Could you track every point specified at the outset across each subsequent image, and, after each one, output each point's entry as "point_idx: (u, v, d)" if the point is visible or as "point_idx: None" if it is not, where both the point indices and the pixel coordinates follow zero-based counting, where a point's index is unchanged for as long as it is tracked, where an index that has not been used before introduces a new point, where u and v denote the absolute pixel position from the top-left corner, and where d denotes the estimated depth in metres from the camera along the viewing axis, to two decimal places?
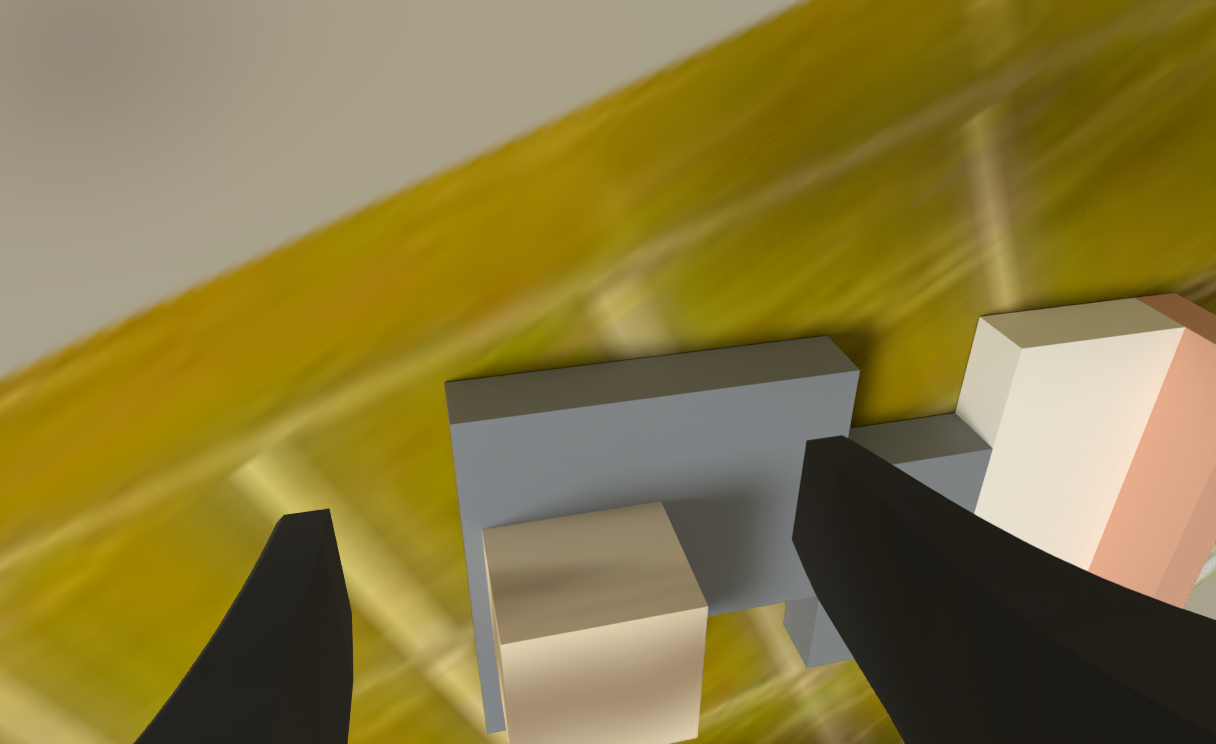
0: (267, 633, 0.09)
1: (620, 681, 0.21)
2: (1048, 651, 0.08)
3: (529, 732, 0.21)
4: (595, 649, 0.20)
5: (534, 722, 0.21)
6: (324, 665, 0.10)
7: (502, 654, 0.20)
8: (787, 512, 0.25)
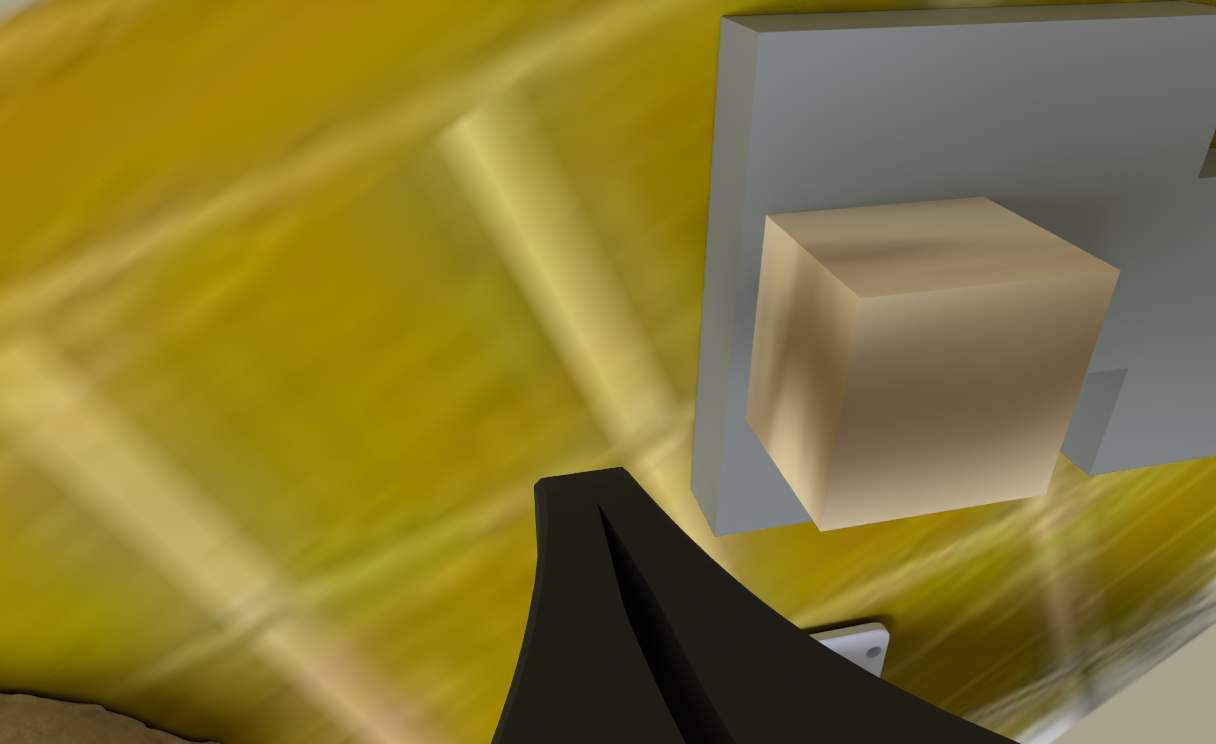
0: (590, 579, 0.10)
1: (984, 385, 0.16)
2: (713, 722, 0.08)
3: (857, 458, 0.16)
4: (970, 325, 0.15)
5: (866, 442, 0.16)
6: None
7: (857, 316, 0.14)
8: (1123, 233, 0.20)
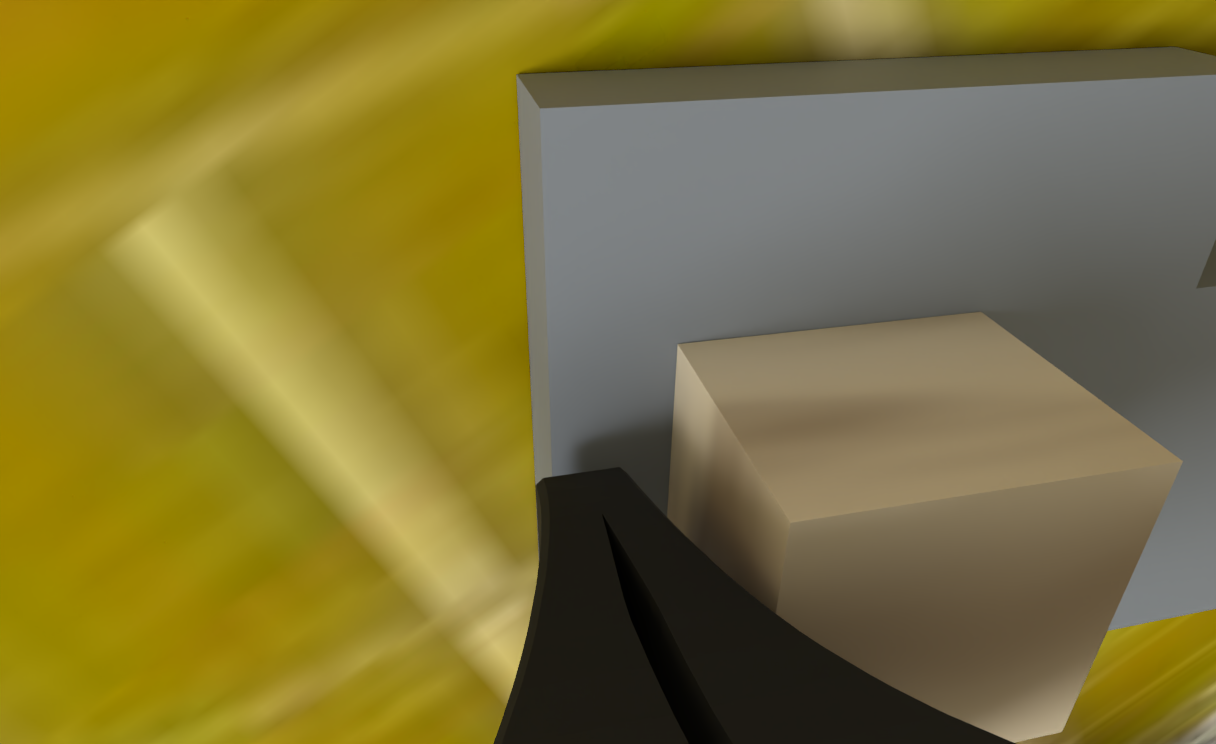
0: (592, 578, 0.10)
1: (980, 616, 0.11)
2: (711, 723, 0.08)
3: None
4: (960, 545, 0.10)
5: None
6: None
7: (787, 545, 0.09)
8: (1095, 360, 0.15)
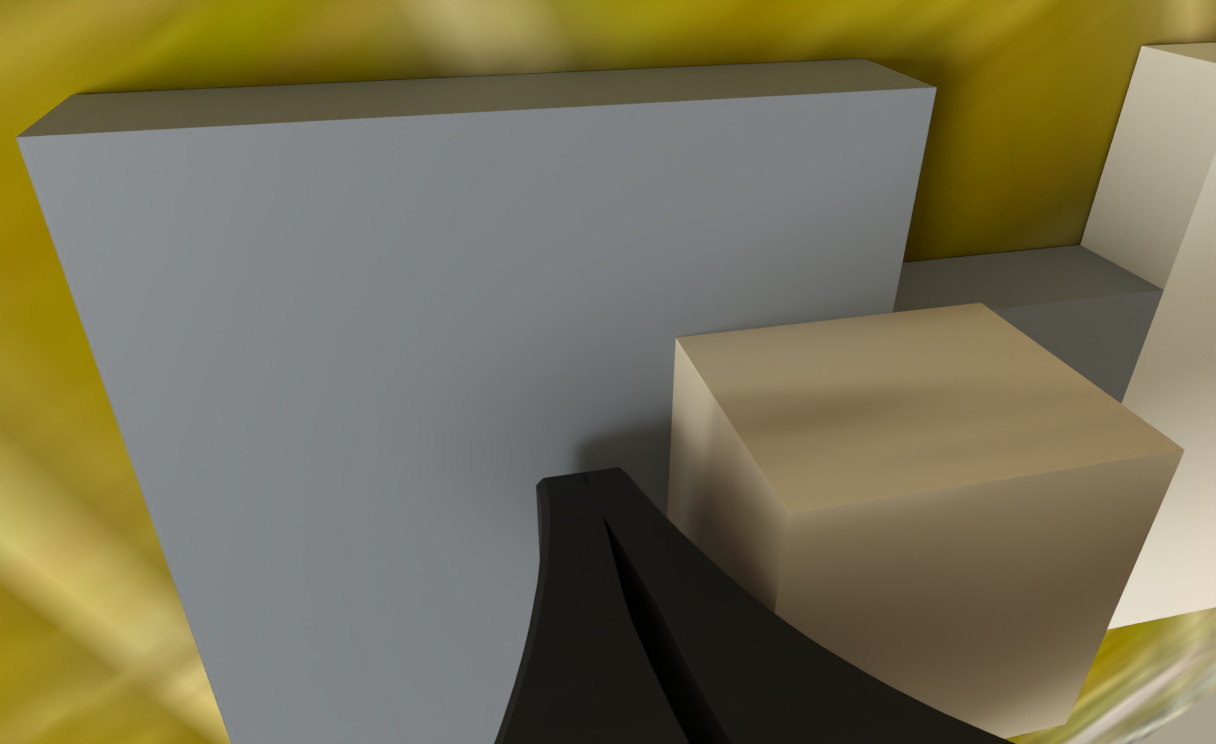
0: (592, 578, 0.10)
1: (981, 607, 0.11)
2: (710, 722, 0.08)
3: None
4: (960, 535, 0.10)
5: None
6: None
7: (786, 537, 0.09)
8: None
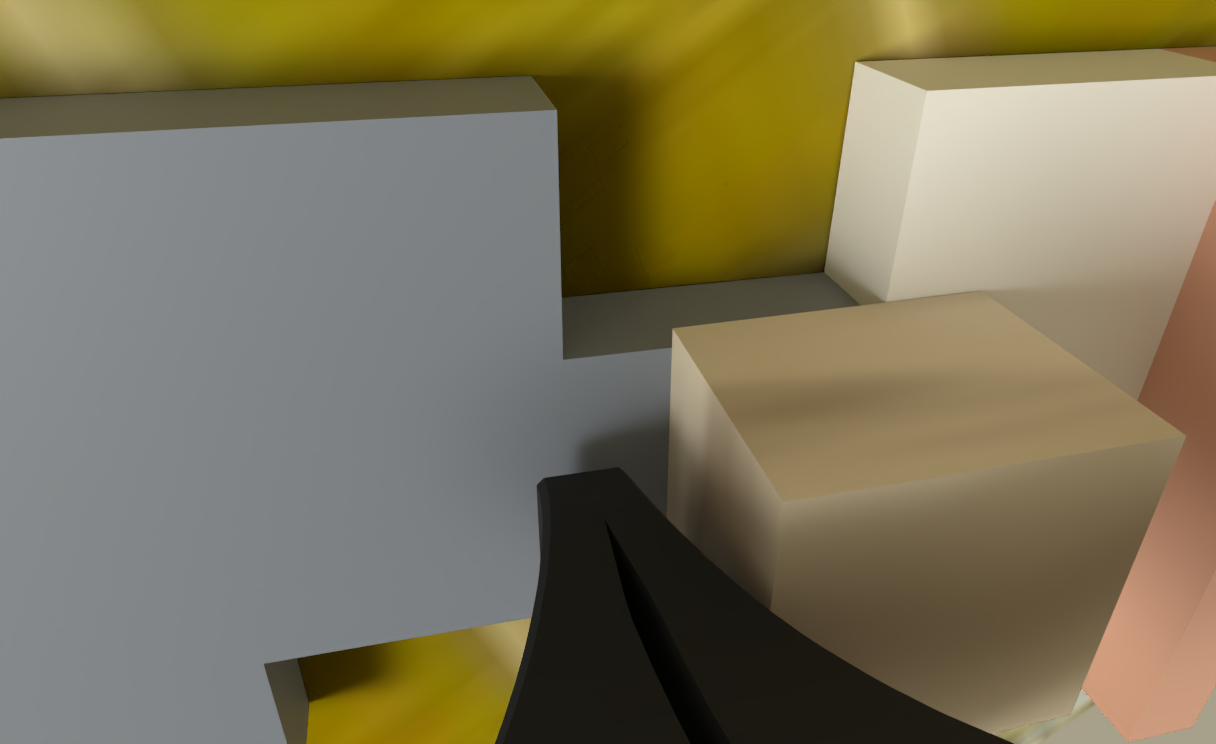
0: (593, 578, 0.10)
1: (982, 597, 0.10)
2: (709, 723, 0.08)
3: None
4: (958, 524, 0.10)
5: None
6: None
7: (781, 526, 0.09)
8: (459, 442, 0.12)
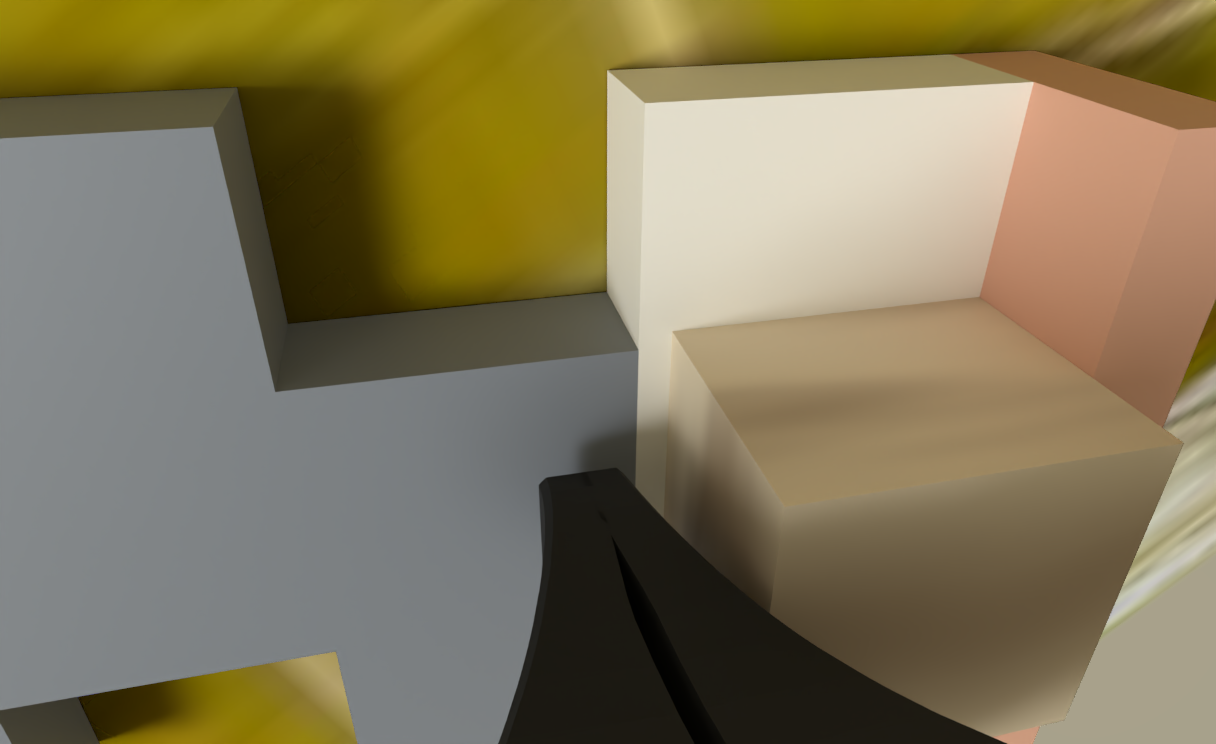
0: (596, 577, 0.10)
1: (979, 602, 0.11)
2: (705, 724, 0.08)
3: None
4: (957, 529, 0.10)
5: None
6: None
7: (781, 530, 0.09)
8: (172, 479, 0.12)
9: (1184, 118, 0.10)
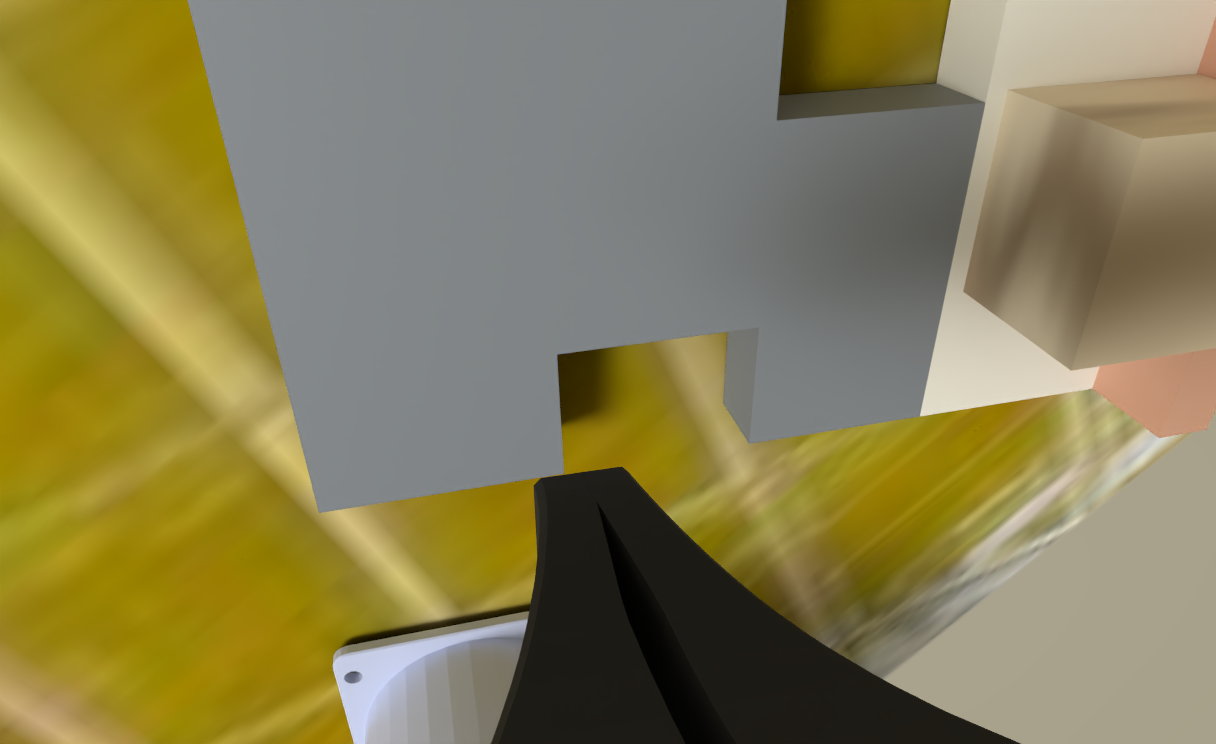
0: (590, 578, 0.10)
1: None
2: (713, 723, 0.08)
3: (1113, 297, 0.17)
4: None
5: (1124, 282, 0.17)
6: None
7: (1137, 157, 0.16)
8: (704, 181, 0.18)
9: None
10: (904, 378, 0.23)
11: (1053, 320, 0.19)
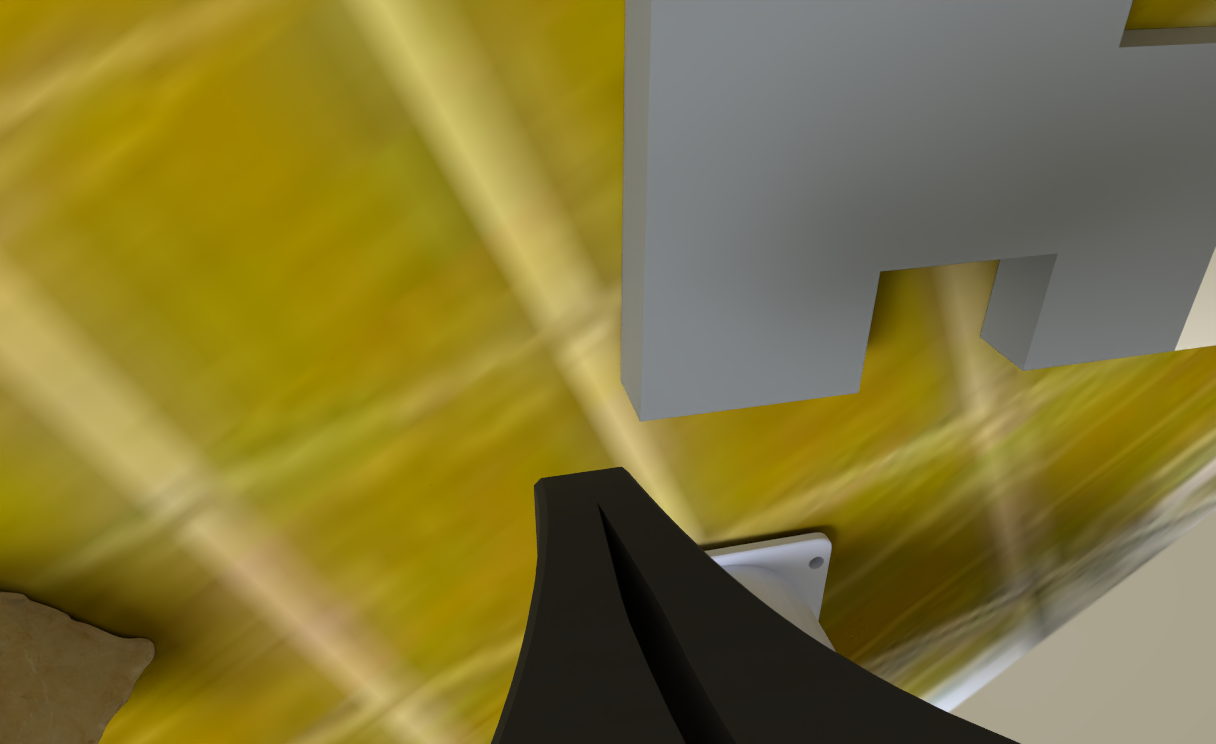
0: (590, 579, 0.10)
1: None
2: (713, 722, 0.08)
3: None
4: None
5: None
6: None
7: None
8: (1044, 105, 0.19)
9: None
10: (1169, 311, 0.24)
11: None
